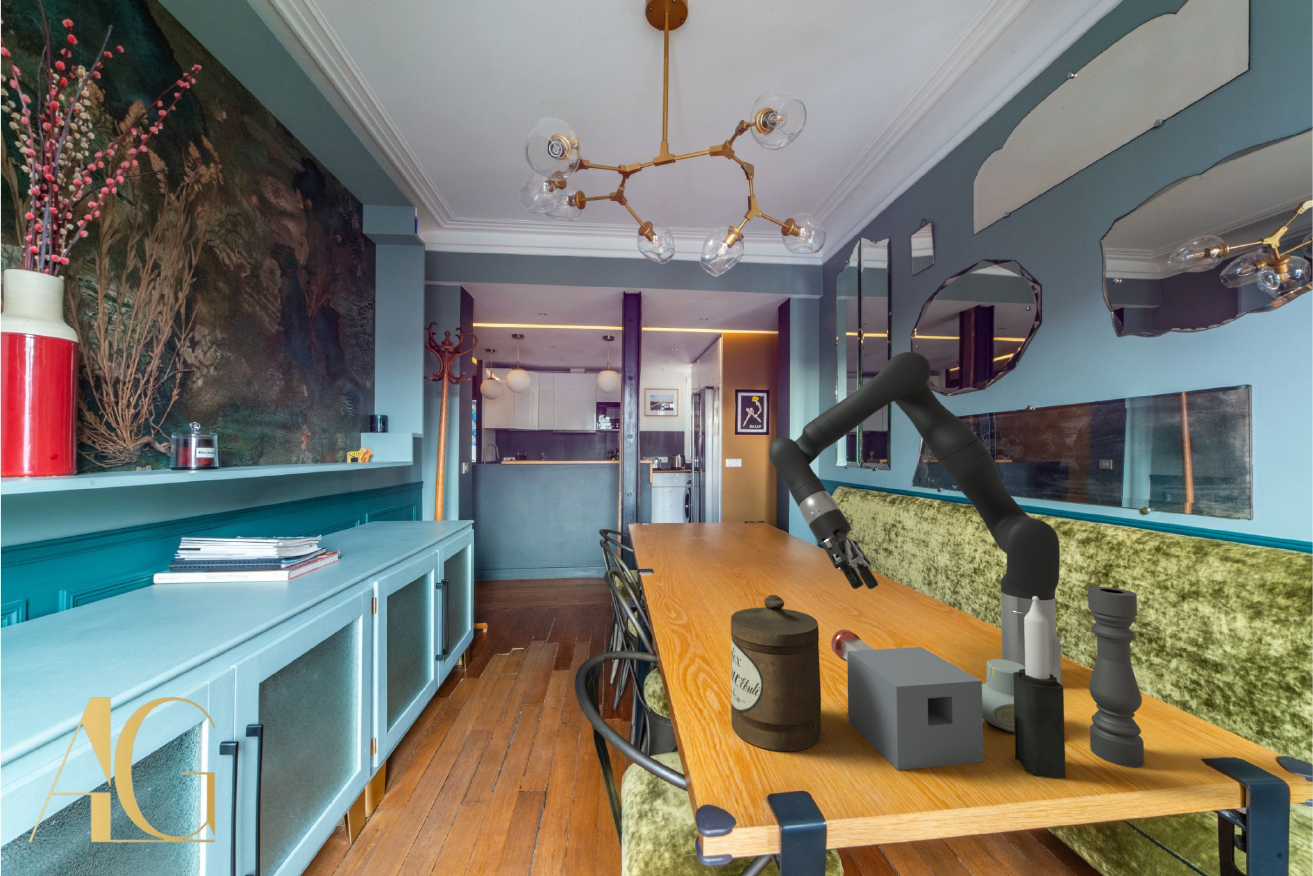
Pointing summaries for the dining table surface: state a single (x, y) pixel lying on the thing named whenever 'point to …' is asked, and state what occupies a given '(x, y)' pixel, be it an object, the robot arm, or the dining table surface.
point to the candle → (1038, 704)
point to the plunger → (847, 643)
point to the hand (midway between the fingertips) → (866, 587)
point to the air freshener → (1000, 693)
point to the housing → (915, 707)
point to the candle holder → (1114, 678)
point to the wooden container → (775, 677)
